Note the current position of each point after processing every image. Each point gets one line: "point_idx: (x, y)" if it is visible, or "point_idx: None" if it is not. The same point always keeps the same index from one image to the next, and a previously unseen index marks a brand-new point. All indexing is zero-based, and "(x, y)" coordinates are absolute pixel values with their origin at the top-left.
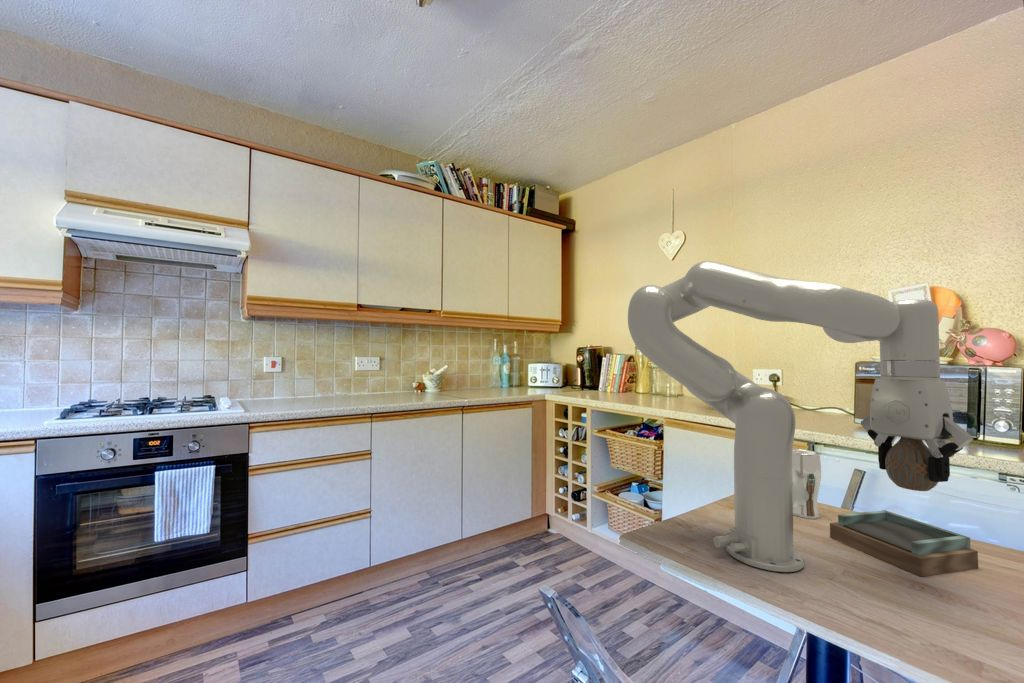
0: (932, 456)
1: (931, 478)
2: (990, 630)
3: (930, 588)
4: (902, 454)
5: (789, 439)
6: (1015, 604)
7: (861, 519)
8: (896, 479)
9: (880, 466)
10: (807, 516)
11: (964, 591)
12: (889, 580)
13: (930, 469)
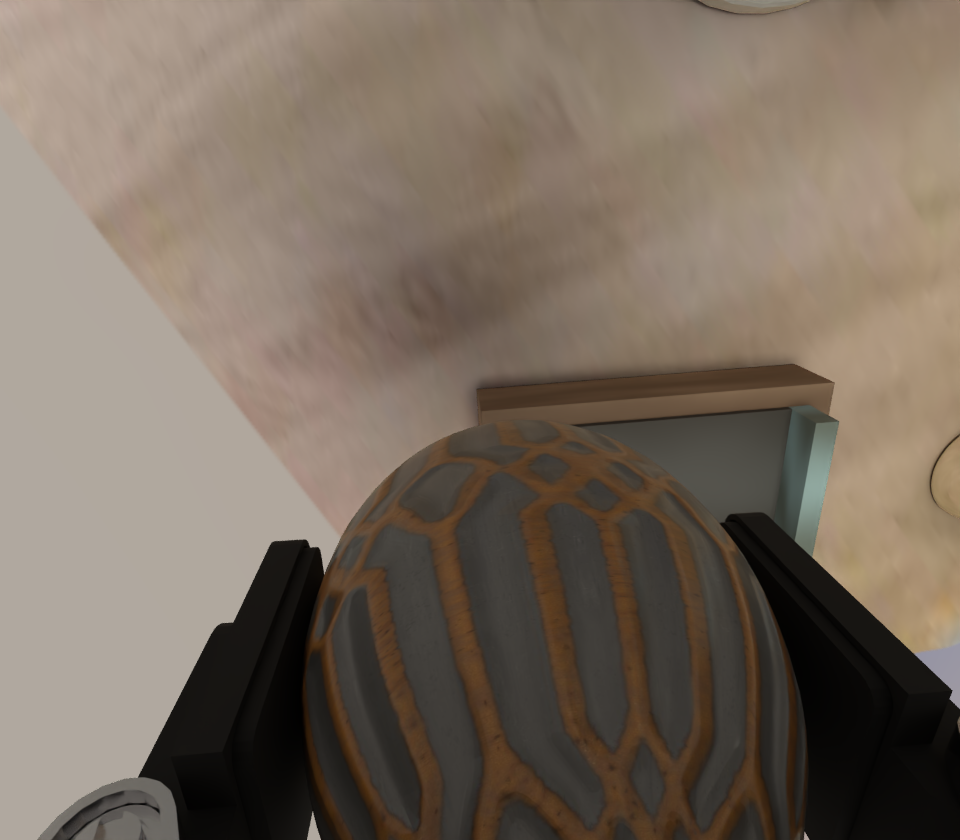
0: (227, 796)
1: (281, 547)
2: (166, 238)
3: (407, 334)
4: (518, 610)
5: None
6: (302, 488)
7: (785, 512)
8: (531, 420)
9: (758, 520)
10: (957, 447)
11: (379, 425)
12: (474, 241)
13: (265, 611)
